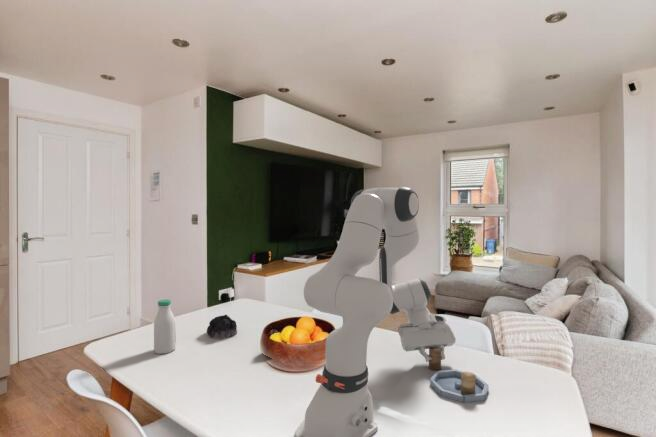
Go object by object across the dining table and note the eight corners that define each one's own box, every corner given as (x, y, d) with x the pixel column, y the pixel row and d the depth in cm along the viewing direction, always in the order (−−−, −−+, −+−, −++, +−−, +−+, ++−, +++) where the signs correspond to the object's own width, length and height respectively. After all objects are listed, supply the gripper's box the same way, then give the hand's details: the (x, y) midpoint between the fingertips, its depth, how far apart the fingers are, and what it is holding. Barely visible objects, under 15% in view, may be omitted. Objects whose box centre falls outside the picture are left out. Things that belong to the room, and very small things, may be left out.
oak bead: (473, 399, 101) (474, 379, 100) (459, 395, 103) (459, 375, 103) (476, 393, 104) (476, 373, 104) (462, 389, 106) (463, 370, 106)
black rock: (213, 330, 162) (211, 309, 161) (242, 327, 161) (240, 307, 160) (203, 343, 149) (200, 321, 147) (234, 341, 148) (231, 319, 147)
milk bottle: (175, 352, 135) (174, 302, 134) (153, 355, 132) (152, 304, 131) (176, 345, 142) (175, 297, 141) (155, 348, 139) (154, 299, 138)
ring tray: (481, 412, 96) (481, 402, 96) (425, 394, 105) (425, 385, 105) (491, 387, 110) (491, 378, 109) (440, 373, 119) (440, 365, 118)
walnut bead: (438, 375, 117) (439, 352, 117) (427, 372, 119) (427, 349, 119) (442, 371, 120) (442, 348, 120) (430, 368, 123) (431, 345, 122)
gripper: (399, 321, 123) (412, 360, 114) (448, 316, 129) (465, 353, 120) (393, 329, 128) (405, 367, 119) (441, 324, 133) (456, 360, 124)
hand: (436, 360), depth 119 cm, fingers closed on walnut bead, 4 cm apart
